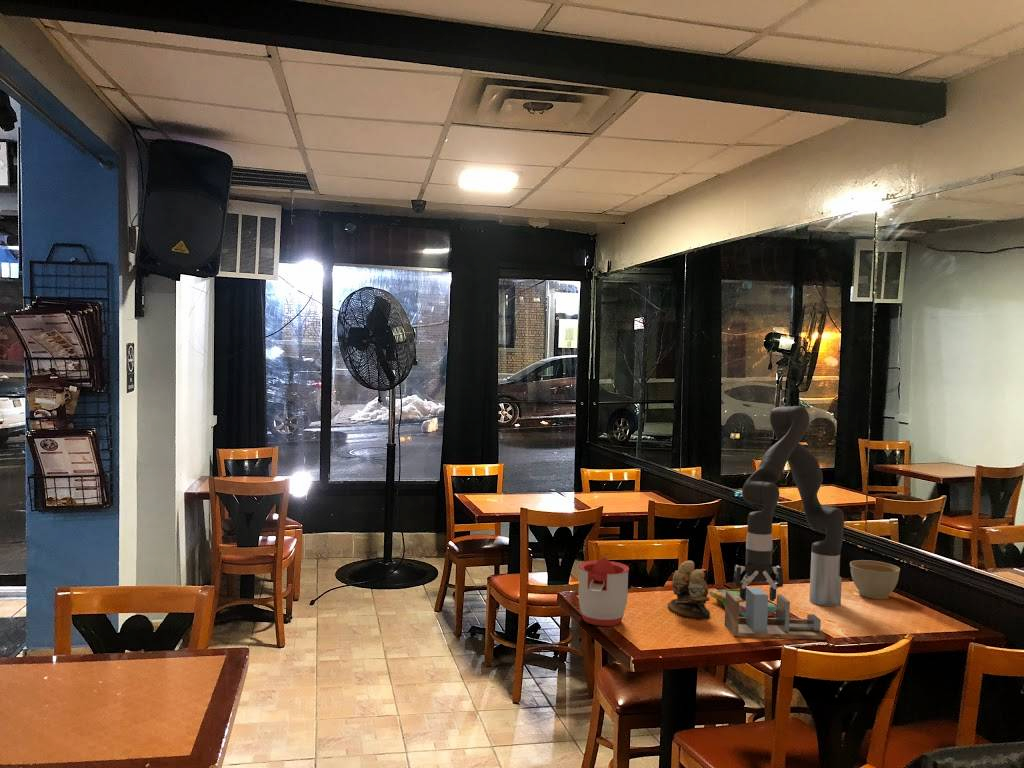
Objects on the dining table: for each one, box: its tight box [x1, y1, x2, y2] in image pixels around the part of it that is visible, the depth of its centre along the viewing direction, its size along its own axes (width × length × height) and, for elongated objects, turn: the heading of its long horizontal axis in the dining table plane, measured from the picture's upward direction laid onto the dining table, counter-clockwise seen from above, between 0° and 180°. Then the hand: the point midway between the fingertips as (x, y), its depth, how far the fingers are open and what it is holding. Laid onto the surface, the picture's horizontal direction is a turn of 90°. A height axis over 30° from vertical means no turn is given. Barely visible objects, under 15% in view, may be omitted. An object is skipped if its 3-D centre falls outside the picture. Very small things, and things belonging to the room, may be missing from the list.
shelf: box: [724, 591, 826, 640], centre depth 229 cm, size 27×10×11 cm, turn 90°
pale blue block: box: [745, 587, 769, 632], centre depth 229 cm, size 4×8×11 cm, turn 0°
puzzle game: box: [709, 588, 776, 617], centre depth 251 cm, size 12×5×20 cm
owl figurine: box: [667, 560, 711, 621], centre depth 245 cm, size 18×12×17 cm, turn 21°
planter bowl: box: [849, 559, 901, 600], centre depth 271 cm, size 16×16×11 cm
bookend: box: [775, 593, 822, 632], centre depth 229 cm, size 11×8×9 cm
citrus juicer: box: [578, 556, 630, 628], centre depth 233 cm, size 16×17×20 cm
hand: (757, 600), depth 228 cm, fingers open, 8 cm apart
